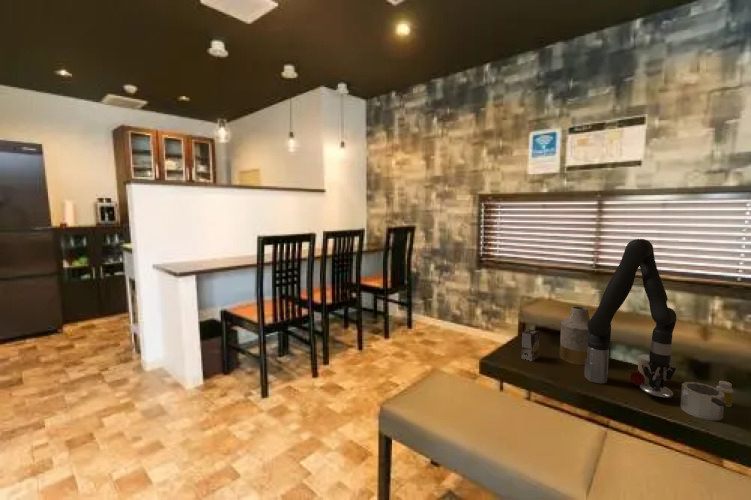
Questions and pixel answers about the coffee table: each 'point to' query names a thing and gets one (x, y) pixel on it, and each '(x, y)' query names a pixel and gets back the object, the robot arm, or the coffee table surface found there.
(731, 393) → the supplement bottle
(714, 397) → the pot
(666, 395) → the lid
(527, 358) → the coffee box
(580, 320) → the vase
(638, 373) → the onion
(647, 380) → the coffee cup
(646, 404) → the coffee table surface
